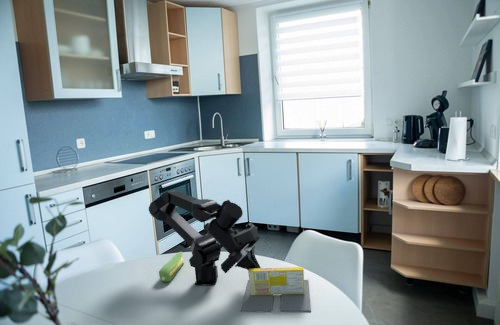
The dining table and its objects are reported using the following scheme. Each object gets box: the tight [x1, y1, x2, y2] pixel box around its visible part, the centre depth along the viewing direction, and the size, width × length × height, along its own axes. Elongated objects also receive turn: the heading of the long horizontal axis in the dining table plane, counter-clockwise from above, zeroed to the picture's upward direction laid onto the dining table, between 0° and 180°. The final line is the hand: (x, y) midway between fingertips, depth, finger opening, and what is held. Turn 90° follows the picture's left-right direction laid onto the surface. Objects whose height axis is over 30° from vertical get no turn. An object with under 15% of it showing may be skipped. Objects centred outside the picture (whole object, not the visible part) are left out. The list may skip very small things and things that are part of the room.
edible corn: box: [158, 251, 185, 283], centre depth 131 cm, size 5×20×5 cm
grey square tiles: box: [239, 279, 312, 313], centre depth 110 cm, size 20×18×1 cm
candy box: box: [247, 266, 305, 296], centre depth 109 cm, size 16×2×8 cm, turn 84°
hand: (260, 272), depth 111 cm, fingers closed
